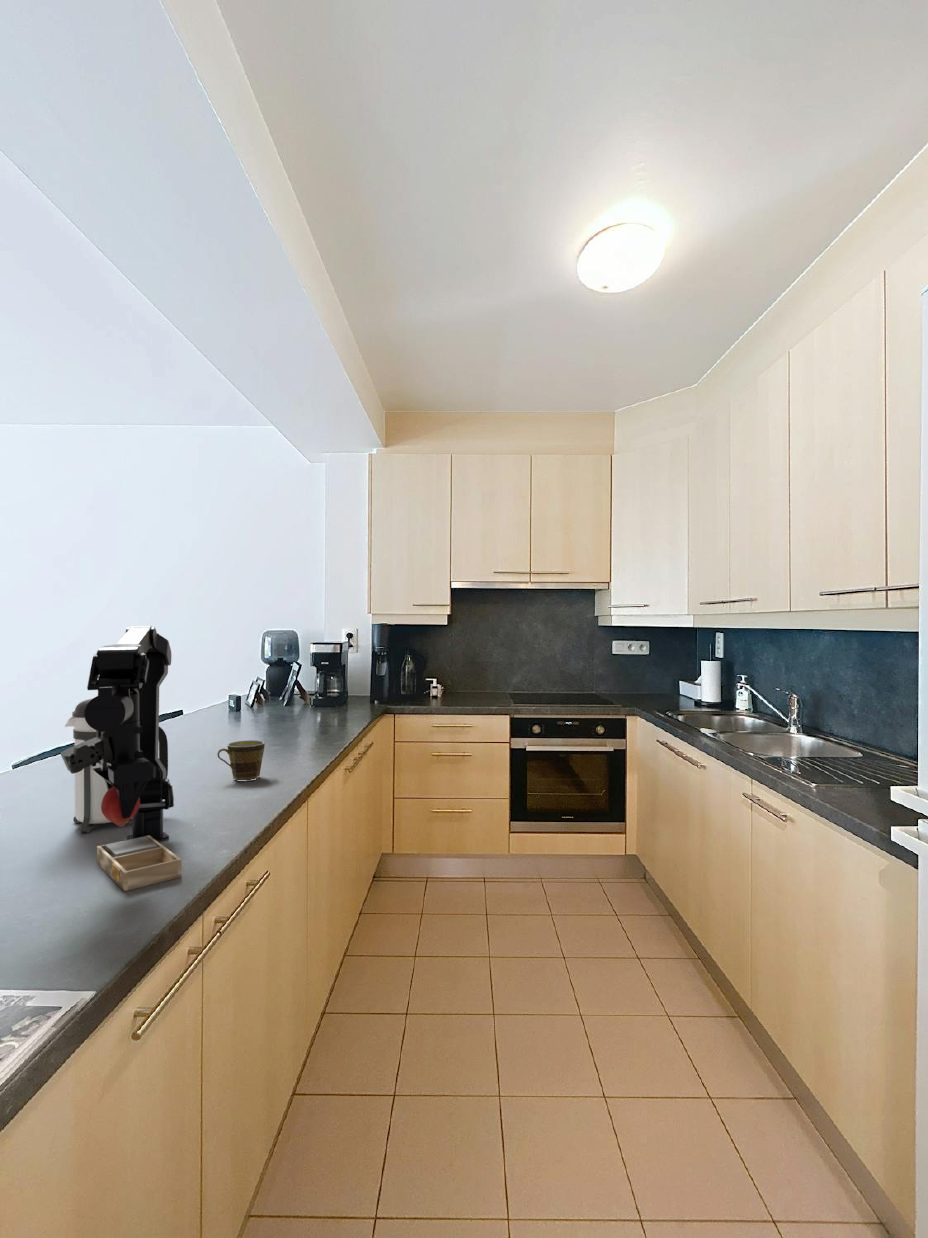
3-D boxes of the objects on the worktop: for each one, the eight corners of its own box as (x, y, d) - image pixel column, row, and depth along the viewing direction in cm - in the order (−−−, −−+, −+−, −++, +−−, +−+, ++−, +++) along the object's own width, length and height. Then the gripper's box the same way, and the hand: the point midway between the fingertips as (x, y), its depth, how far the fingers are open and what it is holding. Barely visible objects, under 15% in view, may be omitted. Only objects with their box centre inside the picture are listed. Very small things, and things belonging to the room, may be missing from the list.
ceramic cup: (256, 773, 191) (256, 739, 191) (270, 779, 184) (270, 743, 184) (211, 780, 183) (211, 744, 183) (224, 787, 175) (224, 749, 175)
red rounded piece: (97, 825, 111) (96, 778, 111) (133, 818, 115) (133, 772, 115) (107, 834, 107) (106, 785, 106) (144, 826, 110) (144, 778, 110)
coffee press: (116, 836, 135) (115, 690, 135) (49, 832, 138) (49, 689, 138) (170, 812, 152) (169, 682, 152) (109, 809, 155) (109, 682, 155)
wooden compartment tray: (95, 863, 120) (95, 845, 120) (149, 851, 126) (149, 833, 126) (123, 891, 107) (123, 871, 107) (181, 876, 113) (181, 857, 113)
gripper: (54, 719, 112) (55, 810, 112) (77, 735, 98) (78, 839, 98) (125, 713, 120) (126, 798, 120) (156, 726, 105) (157, 823, 106)
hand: (121, 813), depth 111 cm, fingers closed on red rounded piece, 6 cm apart
